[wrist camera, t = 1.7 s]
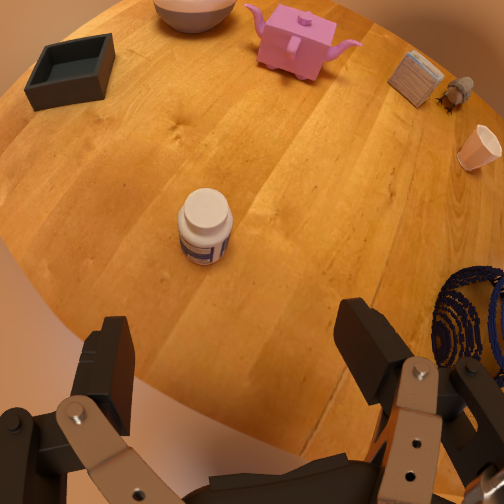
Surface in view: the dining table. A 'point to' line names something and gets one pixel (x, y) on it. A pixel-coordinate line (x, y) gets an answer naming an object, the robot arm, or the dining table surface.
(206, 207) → the pill bottle
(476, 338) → the patterned openwork dome
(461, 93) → the decorative bird
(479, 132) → the cup
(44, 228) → the dining table surface
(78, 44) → the tub
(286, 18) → the teapot
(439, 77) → the medicine box
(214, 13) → the bowl
